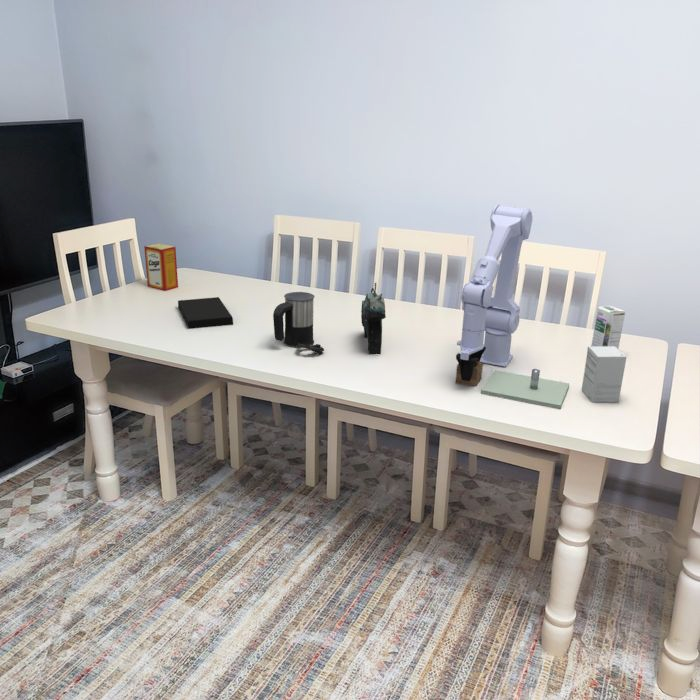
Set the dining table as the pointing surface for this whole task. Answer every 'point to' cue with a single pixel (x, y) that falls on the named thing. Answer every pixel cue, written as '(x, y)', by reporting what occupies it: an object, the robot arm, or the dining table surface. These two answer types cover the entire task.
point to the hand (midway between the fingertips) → (469, 376)
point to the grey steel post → (534, 379)
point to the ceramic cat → (373, 320)
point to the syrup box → (608, 327)
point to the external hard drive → (204, 313)
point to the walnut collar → (475, 375)
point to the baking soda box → (161, 266)
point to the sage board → (525, 389)
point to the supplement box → (603, 374)
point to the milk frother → (296, 321)
